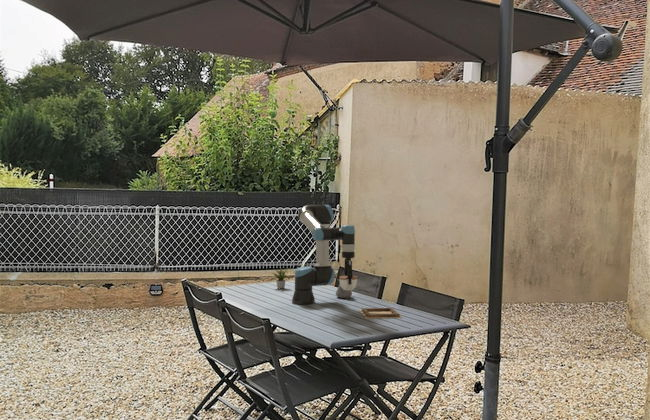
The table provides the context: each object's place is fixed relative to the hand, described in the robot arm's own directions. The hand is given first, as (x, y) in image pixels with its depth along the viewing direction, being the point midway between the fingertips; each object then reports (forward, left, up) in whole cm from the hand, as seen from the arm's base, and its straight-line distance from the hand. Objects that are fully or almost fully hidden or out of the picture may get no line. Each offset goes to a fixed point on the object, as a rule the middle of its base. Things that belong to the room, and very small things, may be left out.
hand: (348, 287), depth 345 cm
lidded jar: (0, 0, -1) cm, 1 cm away
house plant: (-97, -36, -16) cm, 105 cm away
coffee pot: (-59, +3, -16) cm, 62 cm away
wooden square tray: (+1, +19, -16) cm, 25 cm away
